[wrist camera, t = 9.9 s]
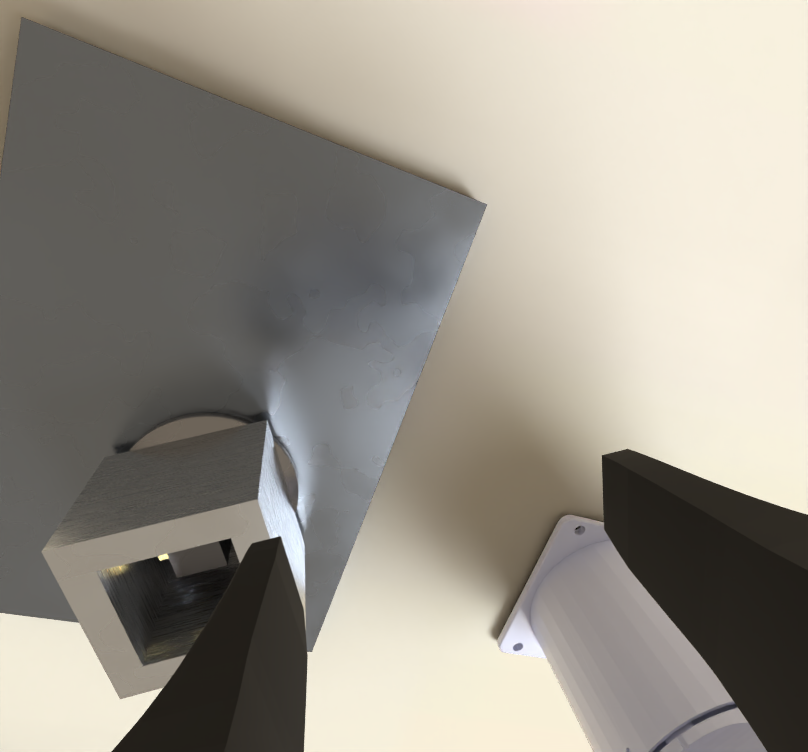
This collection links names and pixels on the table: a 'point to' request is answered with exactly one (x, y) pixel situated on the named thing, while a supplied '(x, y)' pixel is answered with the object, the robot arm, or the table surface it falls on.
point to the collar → (167, 545)
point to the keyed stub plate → (201, 301)
